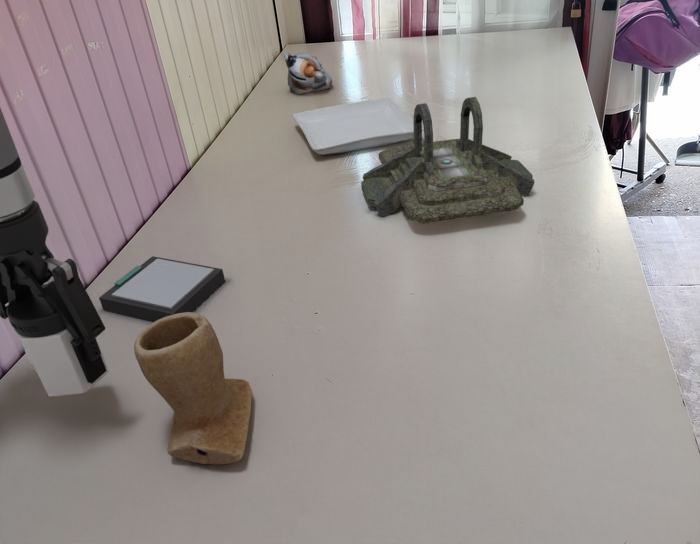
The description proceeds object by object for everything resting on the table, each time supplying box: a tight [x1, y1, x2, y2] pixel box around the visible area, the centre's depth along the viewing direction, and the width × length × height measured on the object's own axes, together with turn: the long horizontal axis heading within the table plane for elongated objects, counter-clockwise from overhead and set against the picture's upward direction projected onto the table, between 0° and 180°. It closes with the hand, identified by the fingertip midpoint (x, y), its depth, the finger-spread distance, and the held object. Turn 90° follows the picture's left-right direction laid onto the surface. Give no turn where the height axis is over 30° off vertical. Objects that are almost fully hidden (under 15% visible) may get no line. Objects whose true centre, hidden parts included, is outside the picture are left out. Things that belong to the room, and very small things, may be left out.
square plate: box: [291, 97, 424, 155], centre depth 159 cm, size 27×27×4 cm
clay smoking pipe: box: [133, 311, 253, 465], centre depth 77 cm, size 15×12×15 cm
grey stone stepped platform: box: [360, 96, 535, 225], centre depth 125 cm, size 35×34×18 cm
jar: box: [6, 283, 110, 398], centre depth 80 cm, size 9×8×12 cm
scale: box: [98, 255, 226, 323], centre depth 106 cm, size 15×14×3 cm
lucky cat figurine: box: [283, 52, 333, 95], centre depth 189 cm, size 15×12×14 cm
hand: (72, 368), depth 83 cm, fingers closed on jar, 8 cm apart
